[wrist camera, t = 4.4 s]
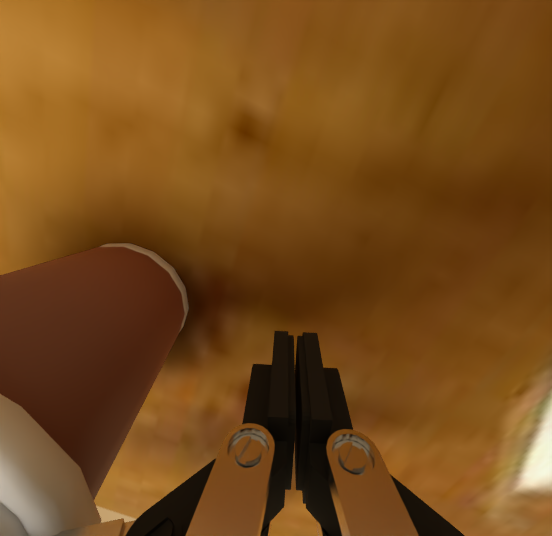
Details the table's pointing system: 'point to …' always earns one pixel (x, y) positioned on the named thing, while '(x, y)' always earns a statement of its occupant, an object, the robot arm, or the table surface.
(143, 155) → the table surface
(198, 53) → the table surface
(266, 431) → the robot arm
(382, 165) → the table surface
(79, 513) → the coffee cup
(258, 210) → the table surface
